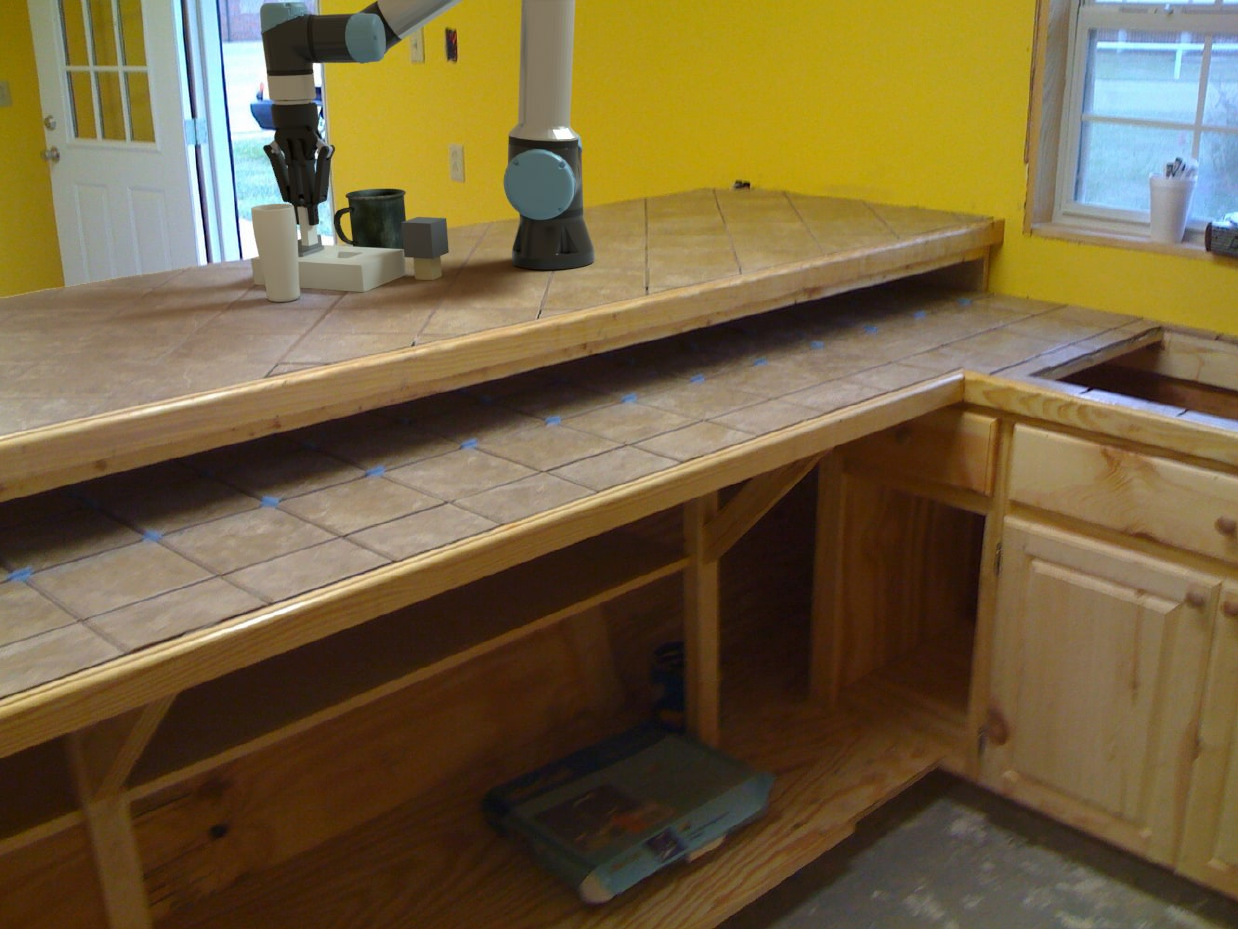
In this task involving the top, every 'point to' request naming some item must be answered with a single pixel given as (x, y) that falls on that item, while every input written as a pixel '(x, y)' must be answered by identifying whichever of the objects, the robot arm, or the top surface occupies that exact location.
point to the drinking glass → (277, 250)
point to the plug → (425, 245)
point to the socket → (345, 268)
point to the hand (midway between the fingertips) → (310, 243)
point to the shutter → (309, 247)
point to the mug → (374, 218)
